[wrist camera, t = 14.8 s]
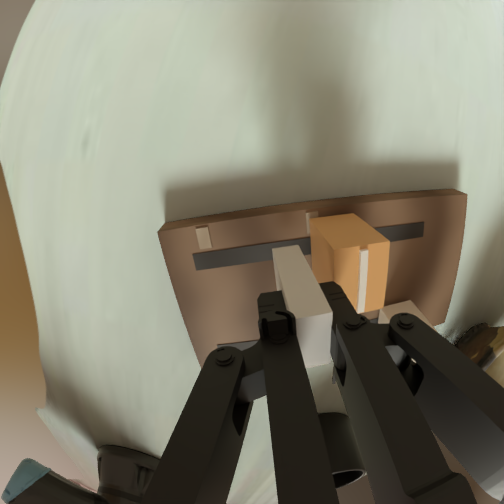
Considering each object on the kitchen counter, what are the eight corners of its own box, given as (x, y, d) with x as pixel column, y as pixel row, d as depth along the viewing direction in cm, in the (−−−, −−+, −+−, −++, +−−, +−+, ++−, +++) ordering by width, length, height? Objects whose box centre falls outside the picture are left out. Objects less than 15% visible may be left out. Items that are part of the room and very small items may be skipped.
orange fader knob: (312, 275, 18) (334, 321, 14) (309, 218, 17) (335, 251, 12) (353, 268, 18) (384, 310, 14) (353, 213, 17) (391, 242, 12)
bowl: (518, 268, 23) (562, 303, 14) (488, 359, 30) (515, 395, 21) (430, 312, 24) (478, 372, 15) (407, 403, 31) (430, 451, 22)
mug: (297, 402, 28) (309, 468, 19) (363, 416, 31) (380, 467, 22) (254, 435, 31) (257, 492, 22) (319, 446, 34) (329, 493, 25)
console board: (204, 356, 24) (202, 372, 22) (164, 222, 19) (156, 232, 17) (434, 311, 24) (444, 323, 22) (452, 188, 18) (468, 194, 17)
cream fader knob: (374, 343, 21) (397, 385, 17) (380, 307, 20) (409, 349, 15) (402, 335, 21) (428, 374, 17) (410, 299, 20) (442, 337, 15)
